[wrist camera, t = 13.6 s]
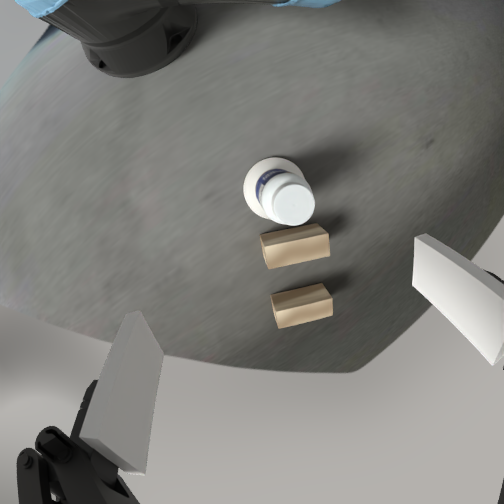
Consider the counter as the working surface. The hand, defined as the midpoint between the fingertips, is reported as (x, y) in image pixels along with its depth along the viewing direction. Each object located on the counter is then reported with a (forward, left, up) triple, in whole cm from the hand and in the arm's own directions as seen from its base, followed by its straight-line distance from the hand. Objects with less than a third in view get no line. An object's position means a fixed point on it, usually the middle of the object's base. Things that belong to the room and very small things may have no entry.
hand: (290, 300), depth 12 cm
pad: (0, +4, -25) cm, 25 cm away
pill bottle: (0, +4, -24) cm, 25 cm away
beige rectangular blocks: (+12, +5, -25) cm, 28 cm away
